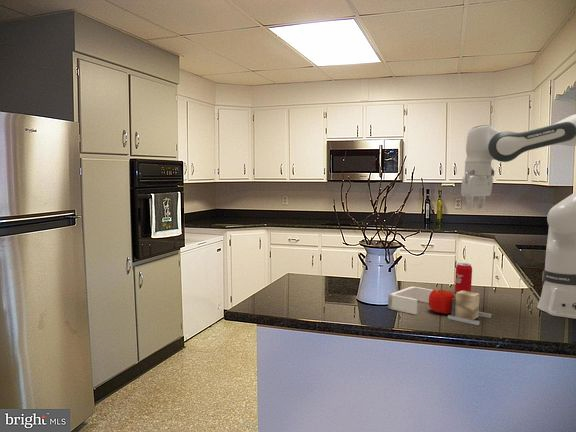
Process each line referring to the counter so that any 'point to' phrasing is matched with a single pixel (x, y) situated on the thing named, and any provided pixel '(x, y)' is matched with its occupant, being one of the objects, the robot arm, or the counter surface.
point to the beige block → (466, 305)
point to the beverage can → (463, 277)
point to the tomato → (441, 301)
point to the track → (469, 319)
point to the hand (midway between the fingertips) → (475, 208)
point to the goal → (408, 299)
